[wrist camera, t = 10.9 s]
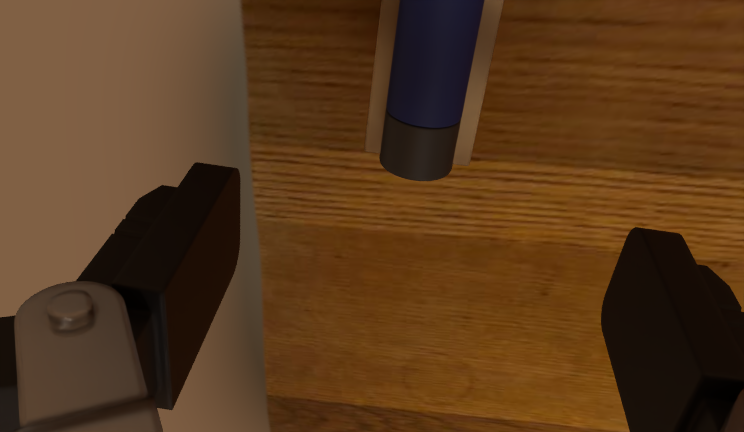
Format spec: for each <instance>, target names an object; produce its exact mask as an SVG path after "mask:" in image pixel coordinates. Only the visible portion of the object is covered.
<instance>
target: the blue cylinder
mask: <svg viewBox="0 0 744 432" xmlns="http://www.w3.org/2000/svg"><path fill="white" fill-rule="evenodd" d="M484 1H485V0H400V3H399V10H398V18H397V26H396V34H395V41H394V49H393V57H392V65H391V72H390V80H389V88H388V95H387V103H386V111H385V119H384V126H383V134H382V142H381V150H380V157H379V158H380V162H381V164H382V166H383V167H384V168H385V169H386V170H387V171H389V172H390V173H392V174H394V175H396V176H399V177H402V178H405V179H410V180H416V181H432V180H438V179H441V178H443V177H445V176H447V175H448V174H449V173H450V171H451V169H452V164H453V159H454V154H455V149H456V144H457V139H458V133H459V128H460V123H461V118H462V113H463V108H464V103H465V98H466V93H467V88H468V82H469V77H470V72H471V67H472V62H473V57H474V52H475V47H476V42H477V36H478V31H479V26H480V21H481V16H482V11H483V6H484Z"/></svg>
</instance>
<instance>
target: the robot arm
mask: <svg viewBox="0 0 744 432" xmlns="http://www.w3.org/2000/svg"><path fill="white" fill-rule="evenodd" d="M239 247H240V173H239V170H238V169H237V168H232V167H225V166H218V165H211V164H204V163H195V164H193V166H192V167H191V169H190V170H189V171H188V173H187V174H186V176H185V177H184V179H183V180H182V182H181V183H180V185H179V186H178V187H171V186H164V185H162V186H160V187H158V188H157V189H155V190H153V191H151V192H149V193H148V194H146V195H144V196H142V197H141V198H139V199H138V201H137V202H136V203H135V204H134V206H133V207H132V208H131V210H130V211H129V212H128V214H127V215H126V218H125V219H123V220H122V222H121V223H120V224H119V225H118V227H117V228H116V229H115V233H114V234H111V236H110V237H109V239H108V240H107V241H106V242H105V244H104V245H103V246H102V248H101V249H100V250H99V251H98V253H97V254H96V255H95V257H94V258H93V259H92V261H91V262H90V263H89V265H88V266H87V267H86V268H85V270H84V271H83V272H82V274H81V275H80V276H79V278H78V279H77V280H76V281H74V282H66V283H62V284H57V285H54V286H51V287H48V288H46V289H44V290H42V291H40V292H38V293H37V294H34V295H33V296H31V297H30V298H29V299H28V300H26V301H25V302H24V303H23V304H22V305H21V307H20V308H19V310H18V311H17V313H16V315H15V316H10V317H1V318H0V432H163V429H162V425H161V421H160V417H159V414H158V410H157V408H162V409H169V410H172V409H173V407H174V405H175V403H176V401H177V398H178V396H179V394H180V392H181V390H182V388H183V385H184V383H185V381H186V379H187V376H188V374H189V372H190V370H191V368H192V365H193V363H194V361H195V359H196V356H197V354H198V352H199V350H200V348H201V345H202V343H203V341H204V339H205V337H206V334H207V332H208V330H209V328H210V325H211V323H212V321H213V319H214V316H215V314H216V312H217V310H218V308H219V305H220V303H221V301H222V299H223V297H224V294H225V292H226V290H227V288H228V286H229V283H230V281H231V279H232V277H233V274H234V271H235V268H236V265H237V260H238V255H239ZM601 326H602V332H603V336H604V339H605V343H606V346H607V350H608V354H609V357H610V361H611V365H612V368H613V372H614V375H615V379H616V383H617V386H618V390H619V393H620V397H621V401H622V404H623V408H624V412H625V415H626V419H627V422H628V426H629V430H630V432H744V312H741V306H740V304H739V302H738V301H737V299H736V297H735V295H734V293H733V292H732V290H731V288H730V286H729V285H727V284H726V283H725V282H724V281H723V280H722V279H721V278H720V277H719V276H718V275H716V274H715V273H714V272H713V271H712V270H711V269H710V268H709V267H708V266H704V265H697V264H696V262H695V260H694V258H693V256H692V254H691V252H690V250H689V248H688V246H687V244H686V242H685V240H684V238H683V237H682V235H680V234H678V233H673V232H666V231H659V230H652V229H645V228H638V227H635V228H633V229H632V230H631V231H630V233H629V234H628V236H627V238H626V241H625V243H624V246H623V249H622V251H621V254H620V257H619V259H618V262H617V265H616V267H615V270H614V273H613V275H612V278H611V281H610V283H609V286H608V289H607V291H606V294H605V297H604V300H603V305H602V313H601Z"/></svg>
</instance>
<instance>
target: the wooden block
mask: <svg viewBox="0 0 744 432" xmlns="http://www.w3.org/2000/svg"><path fill="white" fill-rule="evenodd" d="M399 3H400V0H381V9H380V18H379V26H378V35H377V44H376V52H375V61H374V70H373V78H372V87H371V96H370V104H369V113H368V122H367V130H366V139H365V148H364V150H365V151H367V152H374V153H380V150H381V142H382V134H383V126H384V119H385V111H386V103H387V95H388V88H389V80H390V72H391V65H392V57H393V49H394V41H395V34H396V26H397V18H398V10H399ZM503 3H504V0H485V1H484V6H483V11H482V16H481V21H480V26H479V31H478V36H477V42H476V47H475V52H474V57H473V62H472V67H471V72H470V77H469V82H468V88H467V93H466V98H465V103H464V108H463V113H462V118H461V123H460V128H459V133H458V139H457V144H456V149H455V154H454V159H453V164H458V165H465V166H468V165H469V164H470V159H471V154H472V150H473V145H474V140H475V135H476V131H477V126H478V121H479V116H480V112H481V107H482V102H483V97H484V93H485V88H486V83H487V79H488V74H489V69H490V64H491V60H492V55H493V50H494V45H495V41H496V36H497V31H498V26H499V22H500V17H501V12H502V7H503Z"/></svg>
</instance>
